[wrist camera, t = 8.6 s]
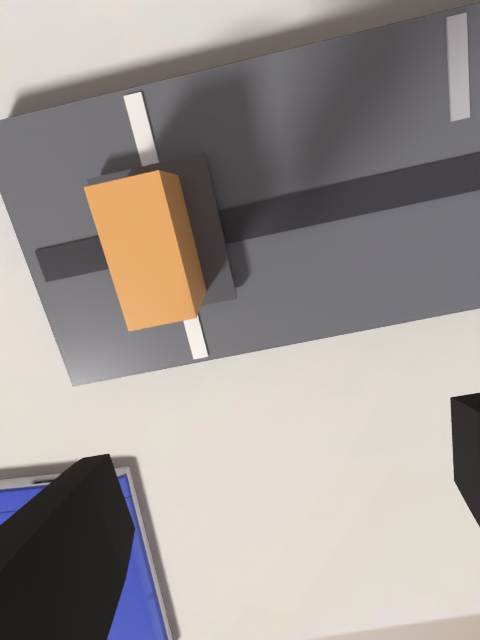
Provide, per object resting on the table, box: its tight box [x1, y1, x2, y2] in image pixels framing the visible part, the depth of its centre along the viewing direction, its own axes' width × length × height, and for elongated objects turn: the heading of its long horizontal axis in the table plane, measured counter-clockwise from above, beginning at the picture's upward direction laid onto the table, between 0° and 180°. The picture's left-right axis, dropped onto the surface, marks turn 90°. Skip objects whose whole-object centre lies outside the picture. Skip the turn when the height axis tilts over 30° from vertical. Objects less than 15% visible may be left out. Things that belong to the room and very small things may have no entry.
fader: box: [84, 152, 237, 331], centre depth 13 cm, size 4×5×4 cm
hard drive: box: [0, 466, 173, 640], centre depth 21 cm, size 2×8×12 cm
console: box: [0, 3, 480, 386], centre depth 15 cm, size 20×10×2 cm, turn 102°
